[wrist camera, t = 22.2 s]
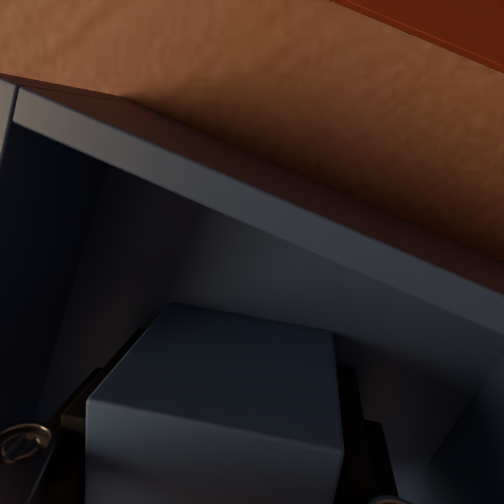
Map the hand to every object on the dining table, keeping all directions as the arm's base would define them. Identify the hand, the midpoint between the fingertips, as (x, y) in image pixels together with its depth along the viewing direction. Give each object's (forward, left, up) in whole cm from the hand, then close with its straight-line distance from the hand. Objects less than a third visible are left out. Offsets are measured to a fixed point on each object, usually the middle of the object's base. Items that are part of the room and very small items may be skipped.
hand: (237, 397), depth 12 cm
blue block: (0, 0, 0) cm, 0 cm away
